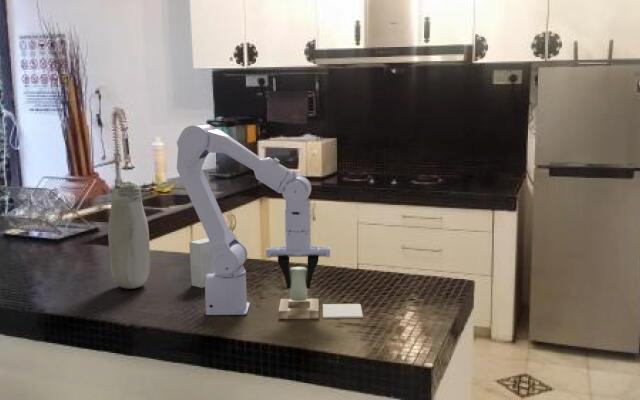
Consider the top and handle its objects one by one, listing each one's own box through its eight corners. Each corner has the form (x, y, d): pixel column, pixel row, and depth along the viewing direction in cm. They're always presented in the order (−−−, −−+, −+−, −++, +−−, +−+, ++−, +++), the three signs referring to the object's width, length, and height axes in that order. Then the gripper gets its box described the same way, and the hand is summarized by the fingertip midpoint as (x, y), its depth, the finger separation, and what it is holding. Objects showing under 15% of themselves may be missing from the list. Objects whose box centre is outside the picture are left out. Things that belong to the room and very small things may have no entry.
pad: (323, 318, 150) (323, 316, 150) (322, 305, 159) (322, 304, 159) (362, 317, 150) (362, 316, 150) (360, 305, 159) (360, 303, 159)
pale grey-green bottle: (156, 288, 175) (150, 183, 170) (116, 295, 169) (110, 186, 165) (145, 280, 183) (139, 179, 179) (107, 285, 178) (100, 181, 173)
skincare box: (207, 280, 182) (206, 237, 180) (218, 283, 179) (217, 239, 177) (190, 285, 177) (188, 241, 175) (201, 288, 175) (199, 243, 173)
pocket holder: (278, 318, 150) (278, 311, 150) (280, 306, 159) (280, 299, 159) (318, 318, 150) (318, 310, 150) (318, 305, 159) (318, 298, 159)
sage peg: (289, 301, 152) (289, 271, 151) (290, 295, 156) (290, 266, 155) (307, 300, 152) (307, 271, 151) (307, 295, 156) (307, 266, 155)
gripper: (264, 233, 148) (265, 292, 150) (330, 232, 148) (330, 292, 150) (267, 227, 154) (268, 283, 157) (329, 226, 155) (329, 283, 157)
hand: (298, 287), depth 154 cm, fingers closed on sage peg, 4 cm apart
